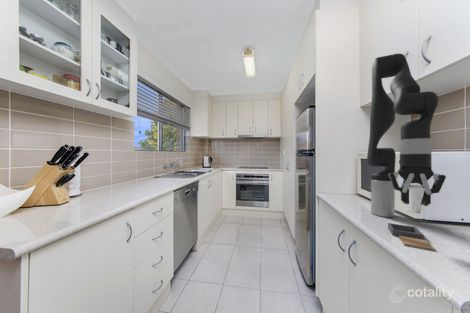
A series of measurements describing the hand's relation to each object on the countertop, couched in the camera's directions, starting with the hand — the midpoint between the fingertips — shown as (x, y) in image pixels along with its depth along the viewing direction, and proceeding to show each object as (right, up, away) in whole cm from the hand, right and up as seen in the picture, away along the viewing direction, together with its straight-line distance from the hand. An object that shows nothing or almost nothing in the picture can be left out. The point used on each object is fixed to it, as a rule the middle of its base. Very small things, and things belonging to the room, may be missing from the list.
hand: (415, 204), depth 61 cm
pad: (0, -13, 0) cm, 13 cm away
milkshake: (0, -3, 0) cm, 3 cm away
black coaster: (+4, -13, +8) cm, 16 cm away
